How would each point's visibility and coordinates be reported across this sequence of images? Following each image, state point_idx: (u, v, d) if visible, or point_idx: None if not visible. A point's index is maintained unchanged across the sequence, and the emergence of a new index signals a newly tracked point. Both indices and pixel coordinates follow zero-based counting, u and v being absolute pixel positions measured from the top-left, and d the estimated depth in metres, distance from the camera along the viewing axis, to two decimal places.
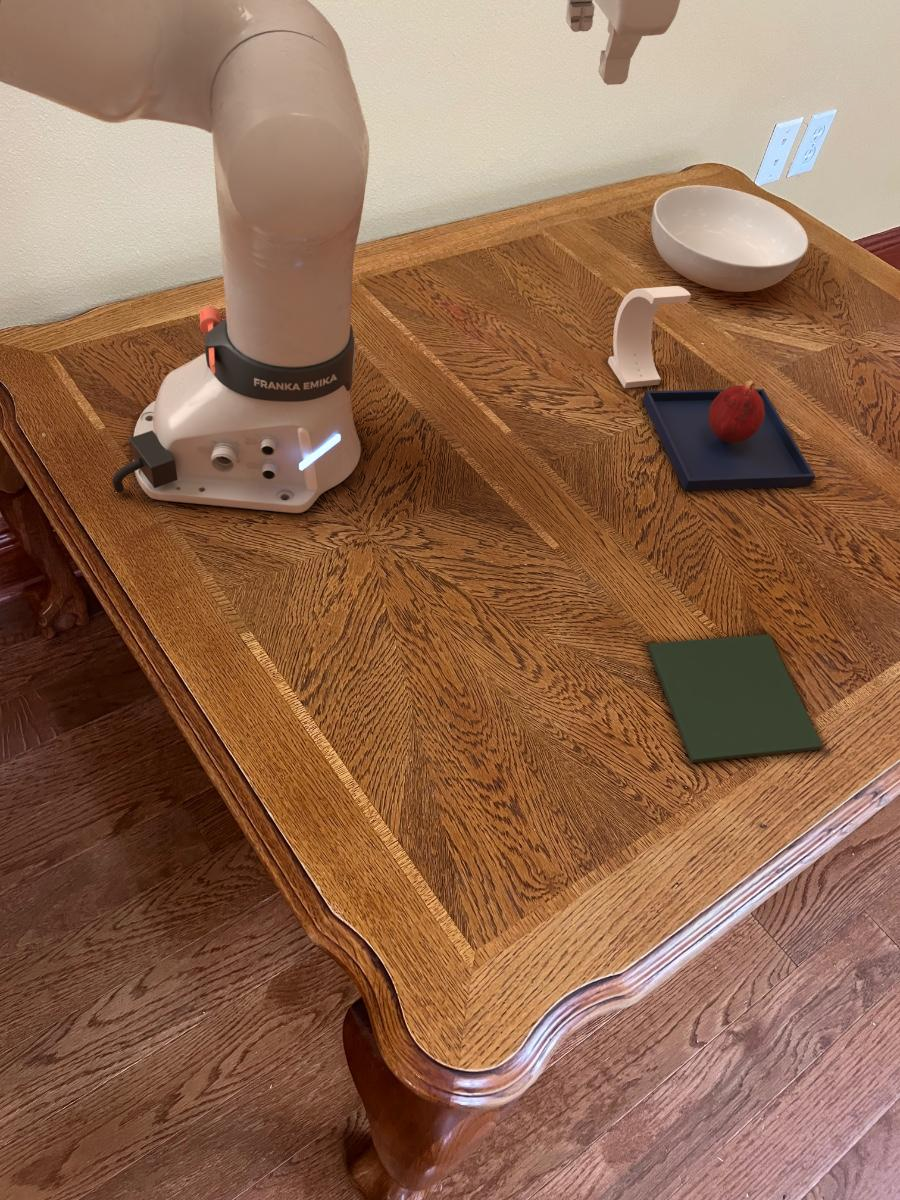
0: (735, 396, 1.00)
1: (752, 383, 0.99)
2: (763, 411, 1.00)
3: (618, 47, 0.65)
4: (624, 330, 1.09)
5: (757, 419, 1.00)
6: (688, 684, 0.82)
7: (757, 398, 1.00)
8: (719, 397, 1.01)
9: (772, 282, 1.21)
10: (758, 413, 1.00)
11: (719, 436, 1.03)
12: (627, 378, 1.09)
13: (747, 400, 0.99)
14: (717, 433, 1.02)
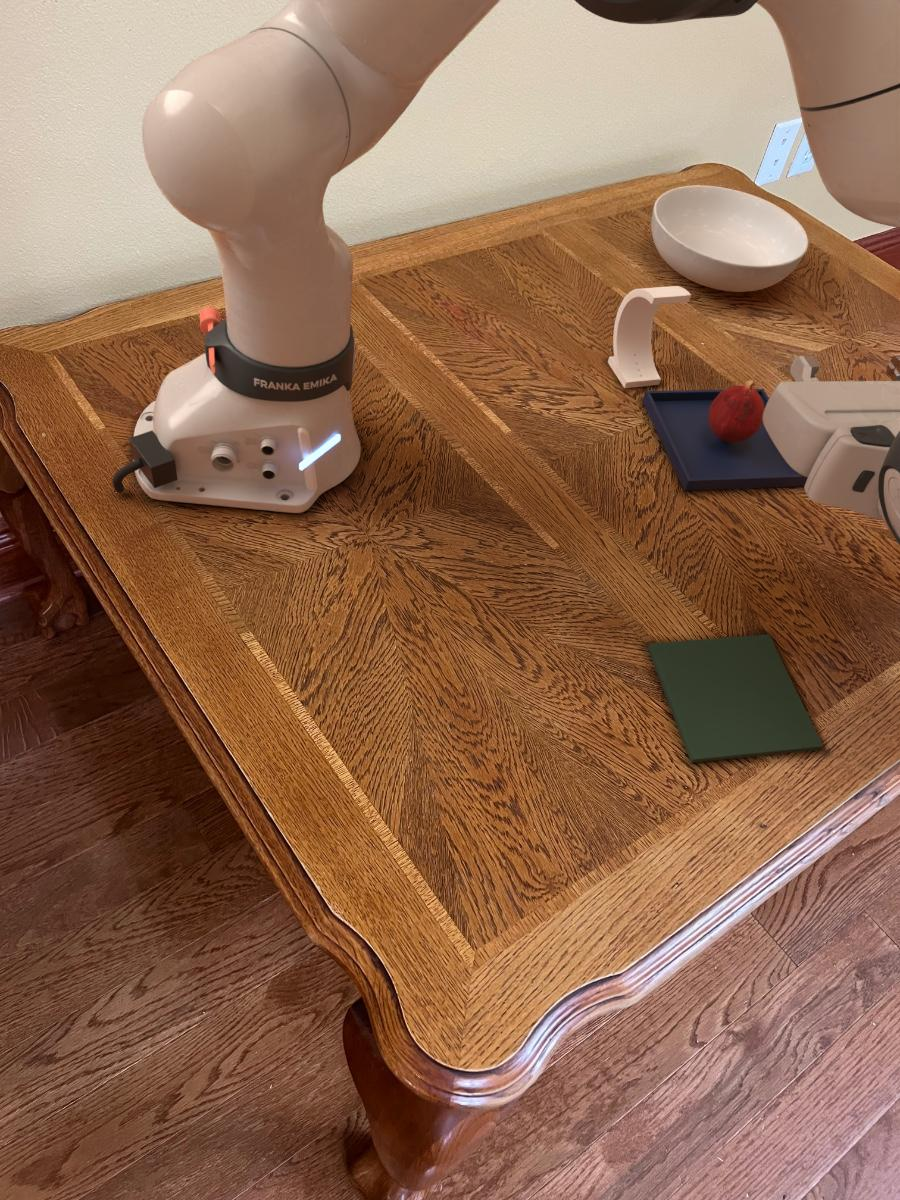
0: (735, 396, 1.00)
1: (752, 383, 0.99)
2: (763, 411, 1.00)
3: (799, 378, 0.79)
4: (624, 330, 1.09)
5: (757, 419, 1.00)
6: (688, 684, 0.82)
7: (757, 398, 1.00)
8: (719, 397, 1.01)
9: (772, 282, 1.21)
10: (758, 412, 1.00)
11: (719, 436, 1.03)
12: (627, 378, 1.09)
13: (747, 400, 0.99)
14: (717, 433, 1.02)
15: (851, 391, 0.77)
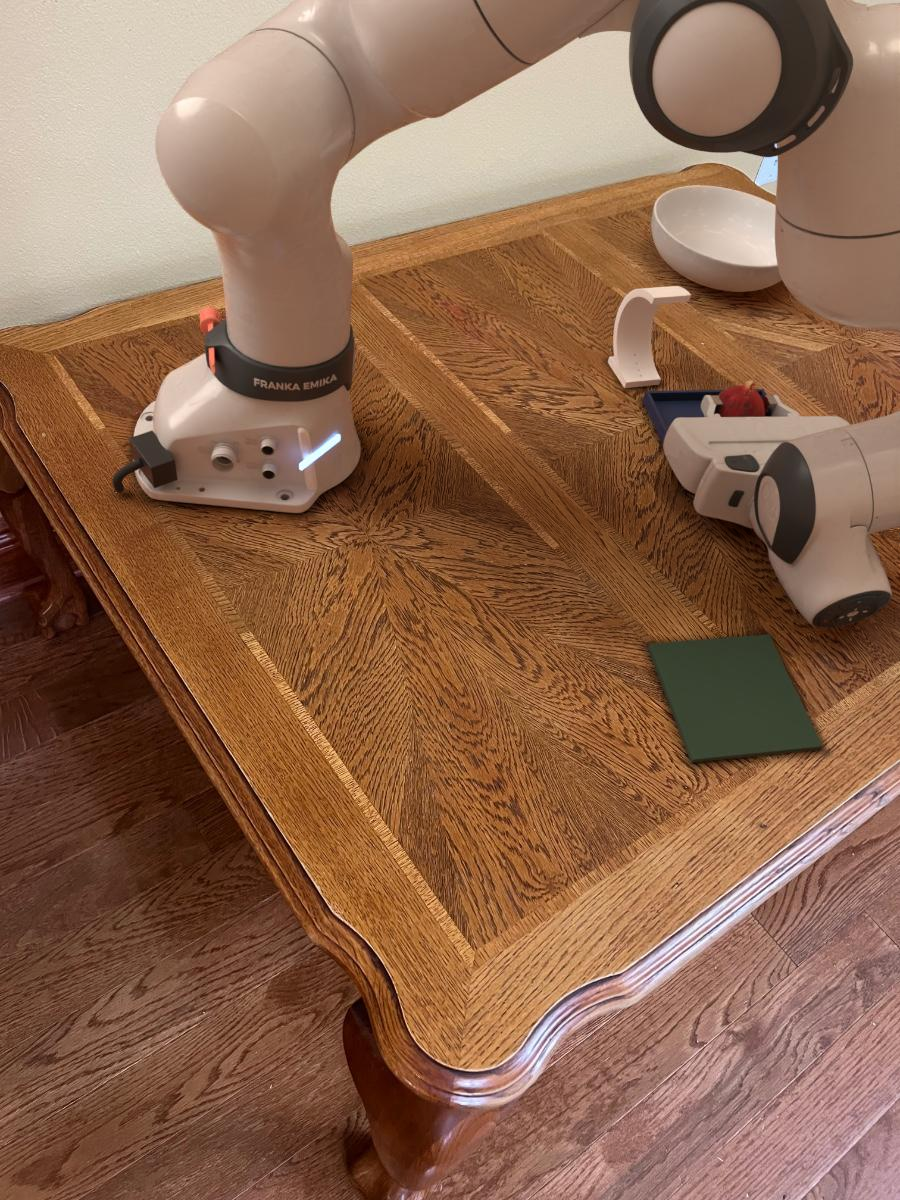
0: (735, 396, 1.00)
1: (752, 383, 0.99)
2: (763, 411, 1.00)
3: (706, 413, 0.99)
4: (624, 330, 1.09)
5: None
6: (688, 684, 0.82)
7: (757, 398, 1.00)
8: None
9: (772, 282, 1.21)
10: (758, 413, 1.00)
11: None
12: (627, 378, 1.09)
13: (747, 400, 0.99)
14: None
15: (732, 425, 0.96)
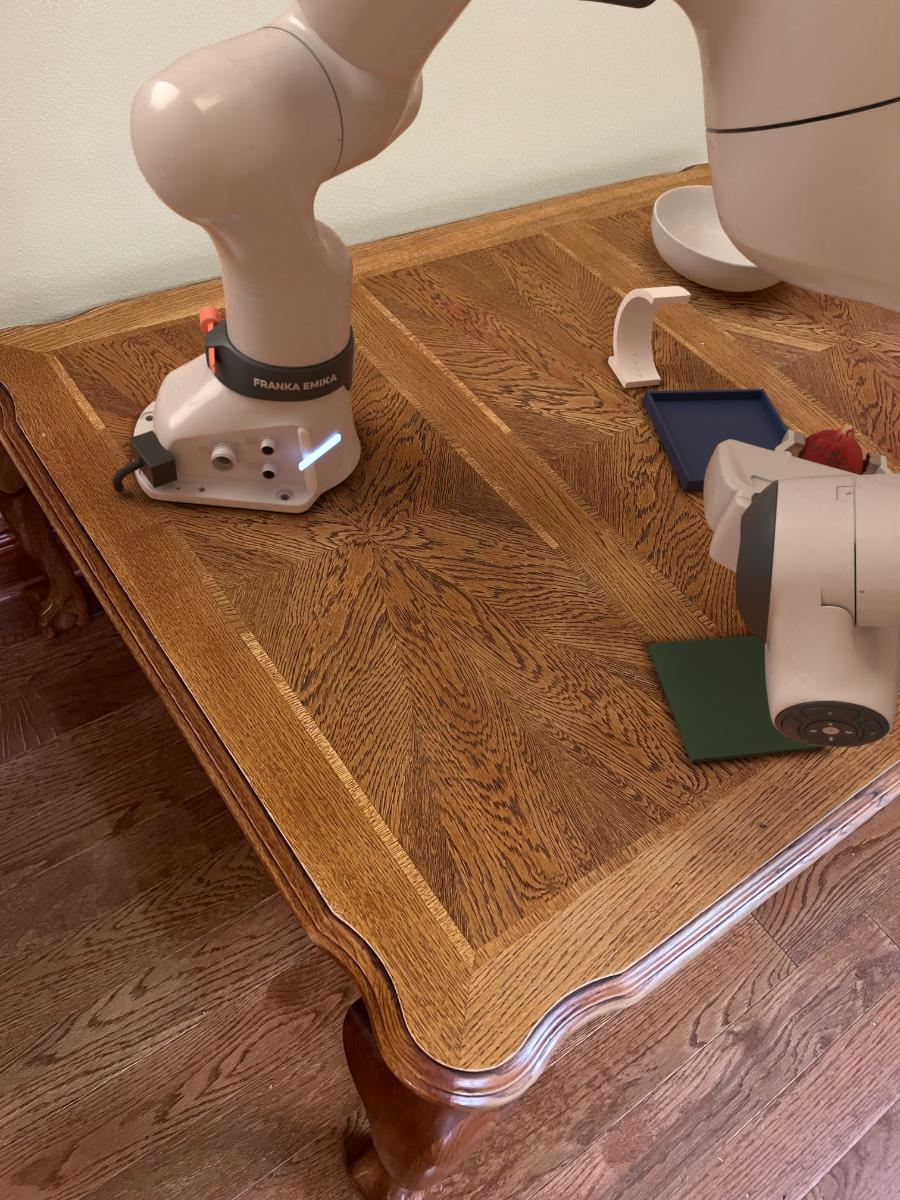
0: (824, 439, 0.78)
1: (850, 429, 0.77)
2: (856, 468, 0.78)
3: None
4: (624, 330, 1.09)
5: None
6: (688, 684, 0.82)
7: (853, 449, 0.78)
8: (807, 438, 0.80)
9: (772, 282, 1.21)
10: (848, 468, 0.78)
11: None
12: (627, 378, 1.09)
13: (836, 448, 0.77)
14: None
15: (796, 467, 0.75)
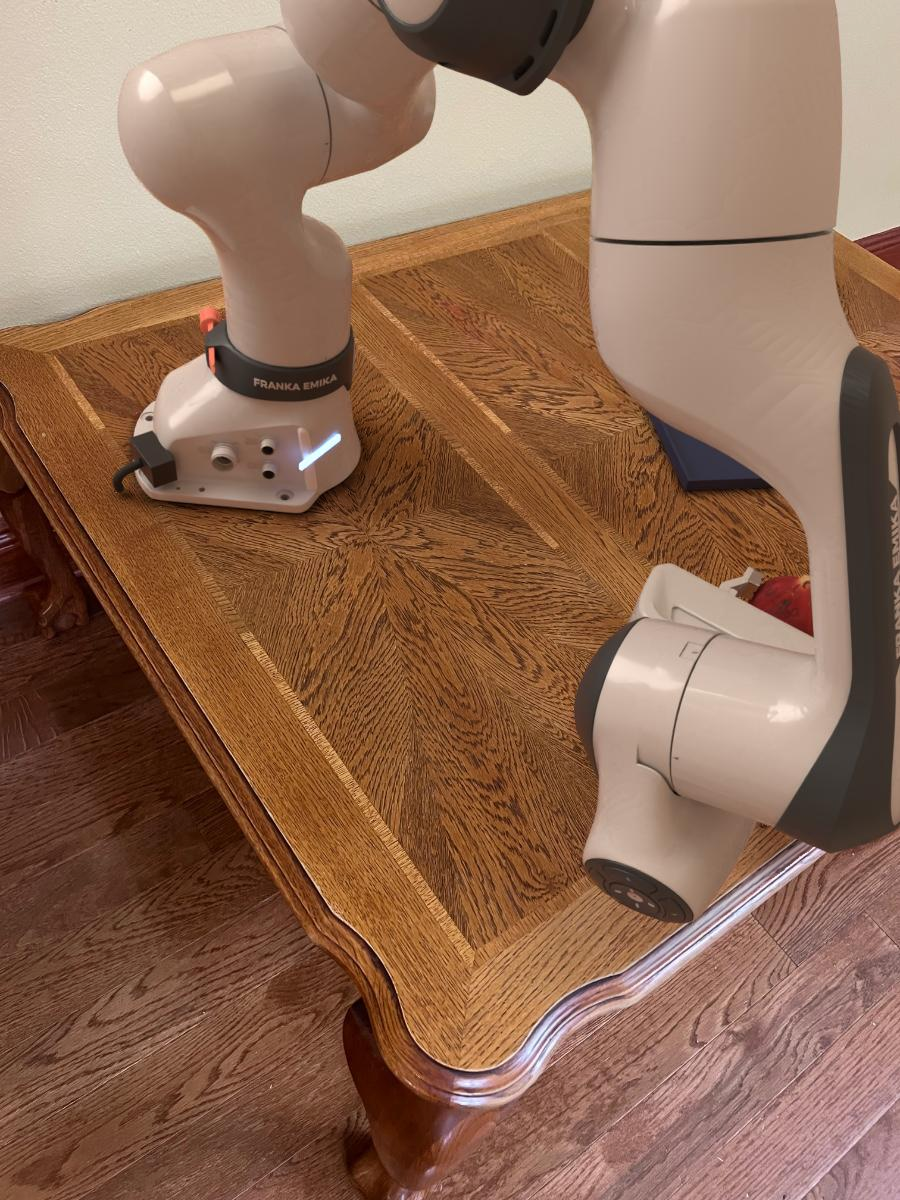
0: (780, 585, 0.72)
1: (809, 580, 0.70)
2: (810, 624, 0.71)
3: None
4: None
5: None
6: None
7: (808, 603, 0.71)
8: (768, 580, 0.74)
9: None
10: (799, 622, 0.71)
11: None
12: None
13: (789, 597, 0.71)
14: None
15: (730, 608, 0.69)
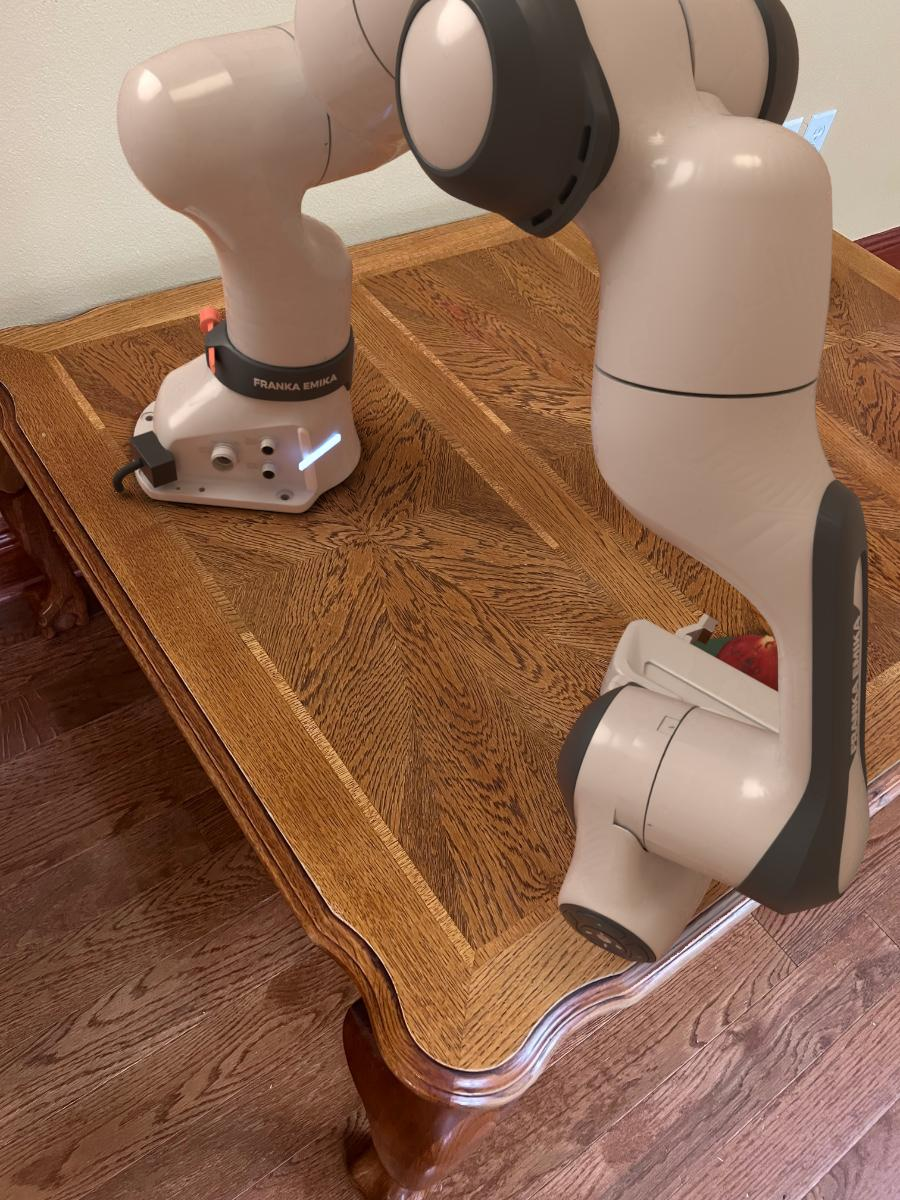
0: (744, 644, 0.77)
1: (770, 641, 0.76)
2: (771, 681, 0.77)
3: None
4: None
5: None
6: None
7: (770, 662, 0.76)
8: (734, 638, 0.79)
9: None
10: (761, 679, 0.77)
11: None
12: None
13: (752, 656, 0.77)
14: None
15: (699, 663, 0.74)
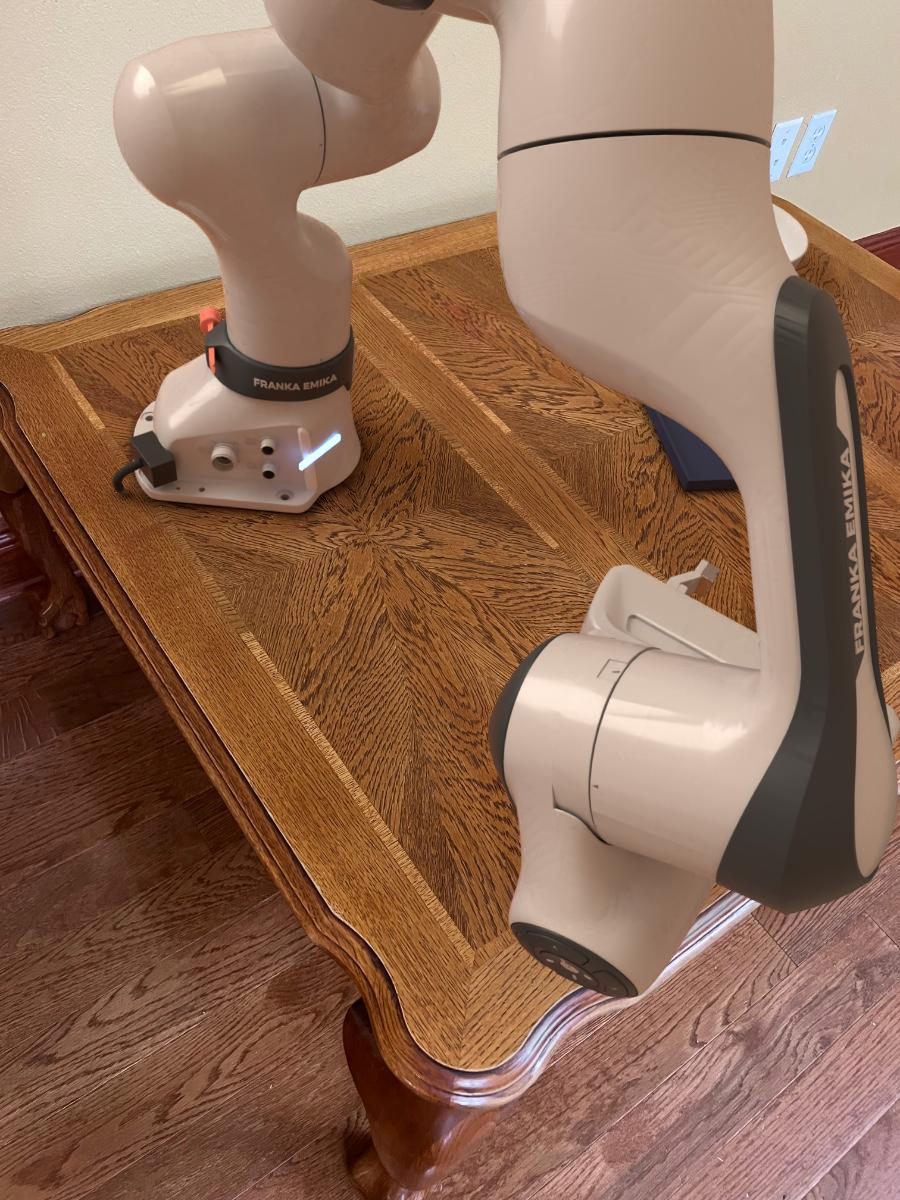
0: None
1: None
2: None
3: None
4: None
5: None
6: None
7: None
8: None
9: None
10: None
11: None
12: None
13: None
14: None
15: (696, 618, 0.60)
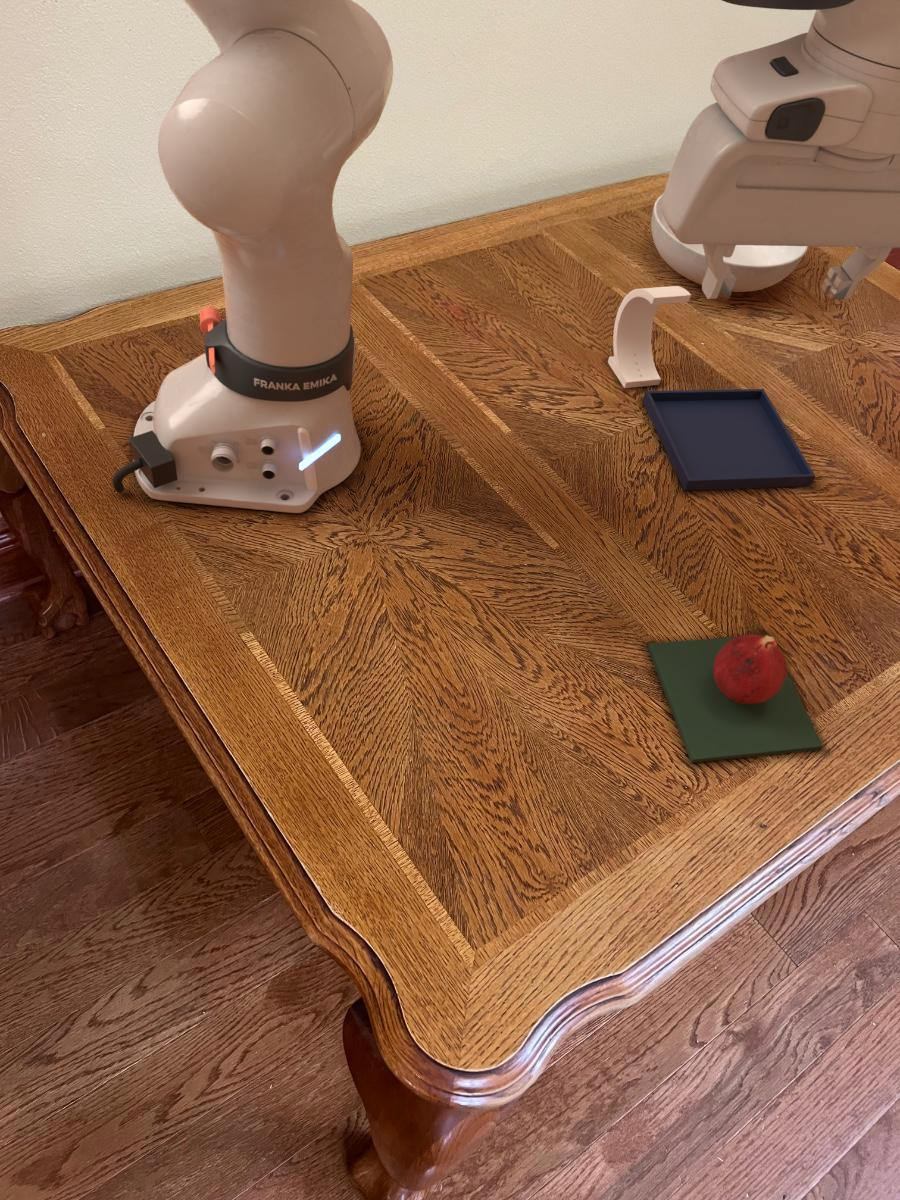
0: (744, 644, 0.77)
1: (770, 641, 0.76)
2: (771, 681, 0.77)
3: (707, 255, 0.64)
4: (624, 330, 1.09)
5: (757, 685, 0.77)
6: (688, 684, 0.82)
7: (770, 662, 0.76)
8: (734, 638, 0.79)
9: (772, 282, 1.21)
10: (761, 679, 0.77)
11: (716, 682, 0.81)
12: (627, 378, 1.09)
13: (752, 656, 0.77)
14: (714, 677, 0.80)
15: None
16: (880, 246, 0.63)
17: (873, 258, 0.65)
